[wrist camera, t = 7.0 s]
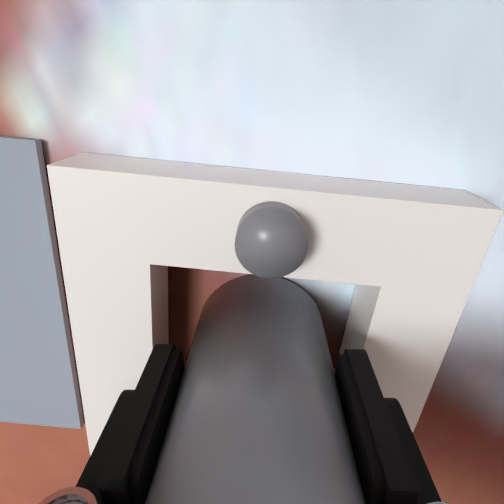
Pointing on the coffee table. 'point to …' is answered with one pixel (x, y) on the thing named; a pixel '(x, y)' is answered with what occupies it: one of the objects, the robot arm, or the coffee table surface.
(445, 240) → the frame
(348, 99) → the coffee table surface
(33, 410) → the mat
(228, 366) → the cartridge
